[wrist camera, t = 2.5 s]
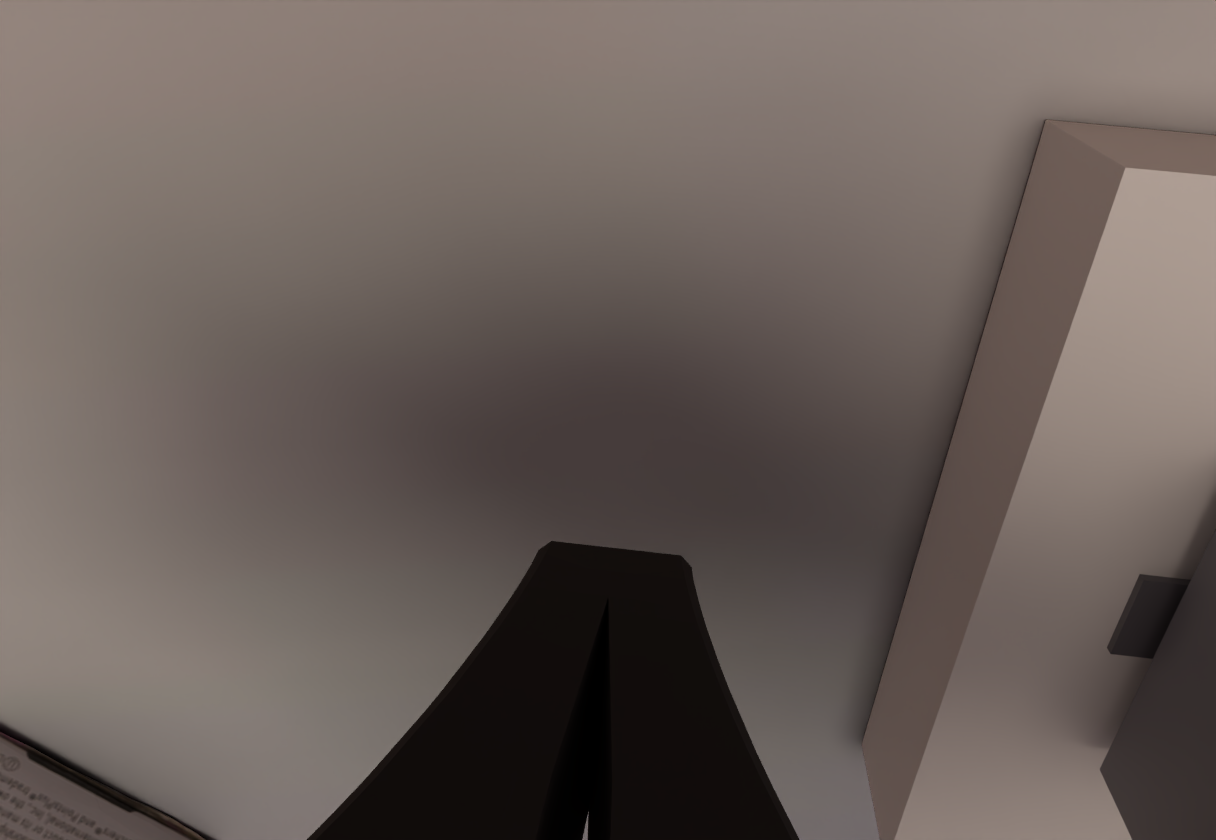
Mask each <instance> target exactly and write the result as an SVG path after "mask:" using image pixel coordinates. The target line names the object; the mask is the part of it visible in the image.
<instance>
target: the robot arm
mask: <svg viewBox="0 0 1216 840" xmlns="http://www.w3.org/2000/svg"><path fill="white" fill-rule="evenodd" d="M588 810H589V816H588V840H799V838H798V836H797V834H796V832H795V830H794V828H793V826H792V824H791V822H790V820H789V818H788V816H787V814H786V812H785V810H784V808H783V806H782V804H781V802H780V800H779V798H778V796H777V794H776V792H775V790H774V789H773V787H772V784H771V782H770V780H769V778H768V776H767V774H766V772H765V770H764V767H763V765H762V763H761V761H760V759H759V757H758V755H757V753H756V750H755V748H754V746H753V744H752V741H751V739H750V737H749V734H748V732H747V730H746V727H745V725H744V723H743V720H742V718H741V716H740V713H739V711H738V709H737V706H736V704H735V702H734V699H733V697H732V695H731V692H730V690H729V688H728V685H727V682H726V680H725V677H724V675H723V672H722V670H721V667H720V664H719V662H718V659H717V656H716V653H715V650H714V648H713V645H712V642H711V639H710V636H709V633H708V631H707V627H706V624H705V621H704V618H703V615H702V611H701V608H700V604H699V601H698V597H697V593H696V589H695V584H694V580H693V574H692V567H691V566H690V565H689V564H688V563H687V562H686V560H685V559H684V558H683V557H682V556H680V555H671V554H662V553H653V552H644V551H635V550H626V549H617V548H609V547H600V546H591V545H582V544H573V543H564V542H555V541H551V542H550V543H548V544H547V545H545V546H544V547H542V548H541V549H539V551H538V553H537V555H536V557H535V558H534V560H533V562H532V564H531V566H530V568H529V569H528V571H527V573H526V574H525V576H524V578H523V579H522V581H521V583H520V584H519V586H518V587H517V589H516V591H515V592H514V594H513V595H512V597H511V598H510V600H509V601H508V603H507V604H506V606H505V607H504V609H503V610H502V611H501V613H500V614H499V616H498V617H497V619H496V620H495V621H494V623H493V624H492V626H491V627H490V628H489V630H488V631H487V633H486V634H485V636H484V637H483V638H482V640H481V641H480V642H479V643H478V645H477V646H476V647H475V649H474V650H473V651H472V653H471V654H470V655H469V656H468V658H467V659H466V660H465V662H464V663H463V664H462V665H461V667H460V668H459V669H458V671H457V672H456V673H455V675H454V676H453V677H452V678H451V680H450V681H449V682H448V684H447V685H446V686H445V687H444V689H443V690H442V691H441V693H440V694H439V695H438V696H437V697H436V699H435V700H434V701H433V702H432V704H431V705H430V706H429V707H428V708H427V710H426V711H425V712H424V713H423V714H422V715H421V716H420V718H419V719H418V720H417V721H416V722H415V723H414V724H413V726H412V727H411V728H410V729H409V730H408V731H407V732H406V734H405V735H404V736H403V737H402V738H401V739H400V740H399V742H398V743H397V744H396V745H395V746H394V747H393V748H392V750H391V751H390V752H389V753H388V754H387V755H386V756H385V758H384V759H383V760H382V761H381V762H380V763H379V764H378V765H377V767H376V768H375V769H374V770H373V771H372V772H371V773H370V775H369V776H368V777H367V778H366V779H365V780H364V781H363V782H362V783H361V784H360V785H359V786H358V788H357V789H356V790H355V791H354V792H353V793H352V794H351V795H350V796H349V797H348V798H347V799H346V800H345V801H344V802H343V803H342V804H341V805H340V806H339V807H338V809H337V810H336V811H335V812H334V813H333V814H332V815H331V816H330V817H329V818H328V819H327V820H326V821H325V822H324V823H323V824H322V825H321V826H320V827H319V828H318V829H317V830H316V831H315V832H314V833H313V834H312V835H311V836H310V837H309V838H308V839H307V840H582V838H583V833H584V829H585V824H586V819H587V815H588Z"/></svg>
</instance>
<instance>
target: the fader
mask: <svg viewBox="0 0 1216 840" xmlns="http://www.w3.org/2000/svg"><path fill="white" fill-rule="evenodd" d="M1100 772H1101V774H1102V776H1103V778H1104V780H1105V782H1106V784H1107V787H1108V789H1109V791H1110V793H1111V795H1112V797H1113V800H1114V802H1115V804H1116V806H1117V808H1118V810H1119V812H1120V815H1121V817H1122V819H1123V821H1124V823H1125V825H1126V828H1127V830H1128V832H1129V834H1130V836H1131V838H1132V840H1216V529H1215V531H1214V533H1213V535H1212V537H1211V539H1210V541H1209V543H1208V545H1207V547H1206V550H1205V552H1204V554H1203V556H1202V558H1201V560H1200V562H1199V564H1198V566H1197V568H1196V570H1195V572H1194V574H1193V576H1192V579H1191V581H1190V583H1189V585H1188V587H1187V589H1186V591H1185V593H1184V595H1183V597H1182V599H1181V601H1180V603H1179V606H1178V608H1177V610H1176V612H1175V614H1174V616H1173V618H1172V620H1171V622H1170V624H1169V626H1168V628H1167V630H1166V632H1165V635H1164V637H1163V639H1162V641H1161V643H1160V645H1159V647H1158V649H1157V651H1156V653H1155V655H1154V657H1153V659H1152V661H1151V664H1150V666H1149V668H1148V670H1147V672H1146V674H1145V676H1144V678H1143V680H1142V682H1141V684H1140V686H1139V688H1138V690H1137V693H1136V695H1135V697H1134V699H1133V701H1132V703H1131V705H1130V707H1129V709H1128V711H1127V713H1126V715H1125V717H1124V719H1123V722H1122V724H1121V726H1120V728H1119V730H1118V732H1117V734H1116V736H1115V738H1114V740H1113V742H1112V744H1111V746H1110V748H1109V751H1108V753H1107V755H1106V757H1105V759H1104V761H1103V763H1102V765H1101V767H1100Z"/></svg>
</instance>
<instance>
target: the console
mask: <svg viewBox="0 0 1216 840" xmlns="http://www.w3.org/2000/svg"><path fill="white" fill-rule="evenodd" d="M1215 529H1216V135H1207V134H1196V133H1185V132H1174V131H1163V130H1152V129H1141V128H1130V127H1119V126H1108V125H1098V124H1087V123H1076V122H1065V121H1054V120H1046V121H1045V125H1044V128H1043V131H1042V135H1041V138H1040V142H1039V145H1038V148H1037V152H1036V155H1035V159H1034V162H1033V165H1032V169H1031V172H1030V176H1029V179H1028V182H1027V186H1026V189H1025V192H1024V196H1023V199H1022V203H1021V206H1020V209H1019V213H1018V216H1017V220H1016V223H1015V226H1014V230H1013V233H1012V237H1011V240H1010V243H1009V247H1008V250H1007V254H1006V257H1005V260H1004V264H1003V267H1002V270H1001V274H1000V277H999V281H998V284H997V287H996V291H995V294H994V298H993V301H992V304H991V308H990V311H989V315H988V318H987V321H986V325H985V328H984V332H983V335H982V338H981V342H980V345H979V348H978V352H977V355H976V359H975V362H974V365H973V369H972V372H971V376H970V379H969V382H968V386H967V389H966V393H965V396H964V399H963V403H962V406H961V410H960V413H959V416H958V420H957V423H956V427H955V430H954V433H953V437H952V440H951V443H950V447H949V450H948V454H947V457H946V460H945V464H944V467H943V471H942V474H941V477H940V481H939V484H938V488H937V491H936V494H935V498H934V501H933V505H932V508H931V511H930V515H929V518H928V521H927V525H926V528H925V532H924V535H923V538H922V542H921V545H920V549H919V552H918V555H917V559H916V562H915V566H914V569H913V572H912V576H911V579H910V583H909V586H908V589H907V593H906V596H905V599H904V603H903V606H902V610H901V613H900V616H899V620H898V623H897V627H896V630H895V633H894V637H893V640H892V644H891V647H890V650H889V654H888V657H887V661H886V664H885V667H884V671H883V674H882V677H881V681H880V684H879V688H878V691H877V694H876V698H875V701H874V705H873V708H872V711H871V715H870V718H869V722H868V725H867V728H866V732H865V735H864V739H863V742H862V749H863V754H864V759H865V764H866V769H867V775H868V780H869V785H870V790H871V795H872V801H873V806H874V811H875V816H876V821H877V826H878V832H879V837H880V840H1132V838H1131V836H1130V834H1129V832H1128V830H1127V828H1126V825H1125V823H1124V821H1123V819H1122V817H1121V815H1120V812H1119V810H1118V808H1117V806H1116V804H1115V802H1114V800H1113V797H1112V795H1111V793H1110V791H1109V789H1108V787H1107V784H1106V782H1105V780H1104V778H1103V776H1102V774H1101V772H1100V767H1101V765H1102V763H1103V761H1104V759H1105V757H1106V755H1107V753H1108V751H1109V748H1110V746H1111V744H1112V742H1113V740H1114V738H1115V736H1116V734H1117V732H1118V730H1119V728H1120V726H1121V724H1122V722H1123V719H1124V717H1125V715H1126V713H1127V711H1128V709H1129V707H1130V705H1131V703H1132V701H1133V699H1134V697H1135V695H1136V693H1137V690H1138V688H1139V686H1140V684H1141V682H1142V680H1143V678H1144V676H1145V674H1146V672H1147V670H1148V668H1149V666H1150V664H1151V661H1152V659H1153V657H1154V655H1155V653H1156V651H1157V649H1158V647H1159V645H1160V643H1161V641H1162V639H1163V637H1164V635H1165V632H1166V630H1167V628H1168V626H1169V624H1170V622H1171V620H1172V618H1173V616H1174V614H1175V612H1176V610H1177V608H1178V606H1179V603H1180V601H1181V599H1182V597H1183V595H1184V593H1185V591H1186V589H1187V587H1188V585H1189V583H1190V581H1191V579H1192V576H1193V574H1194V572H1195V570H1196V568H1197V566H1198V564H1199V562H1200V560H1201V558H1202V556H1203V554H1204V552H1205V550H1206V547H1207V545H1208V543H1209V541H1210V539H1211V537H1212V535H1213V533H1214V531H1215Z"/></svg>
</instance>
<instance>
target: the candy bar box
mask: <svg viewBox="0 0 1216 840" xmlns="http://www.w3.org/2000/svg"><path fill="white" fill-rule="evenodd" d="M0 840H205V839H204V838H202V837H201V836H199V835H198V834H197V833H195V832H193V831H192V830H190V829H189V828H187V827H185V826H184V825H182V824H180V823H179V822H177V821H176V820H174V819H172V818H171V817H169V816H167V815H165V814H163V813H162V812H160V811H158V810H156V809H154V808H151V807H149V806H147V805H145V804H142V803H140V802H138V801H135V800H133V799H130V798H128V797H126V796H124V795H123V794H121V793H119V792H117V791H115V790H113V789H111V788H110V787H107V786H105V785H103V784H101V783H99V782H97V781H95V780H93V779H91V778H89V777H87V776H85V775H82V774H80V773H78V772H76V771H74V770H72V769H70V768H68V767H66V766H64V765H62V764H60V763H58V762H57V761H55V760H53V759H51V758H50V757H48V756H46V755H44V754H42V753H41V752H39V751H37V750H35V749H34V748H32V747H30V746H28V745H26V744H24V743H22V742H20V741H17V740H15V739H13V738H11V737H9V736H7V735H5V734H3V733H1V732H0Z"/></svg>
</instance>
